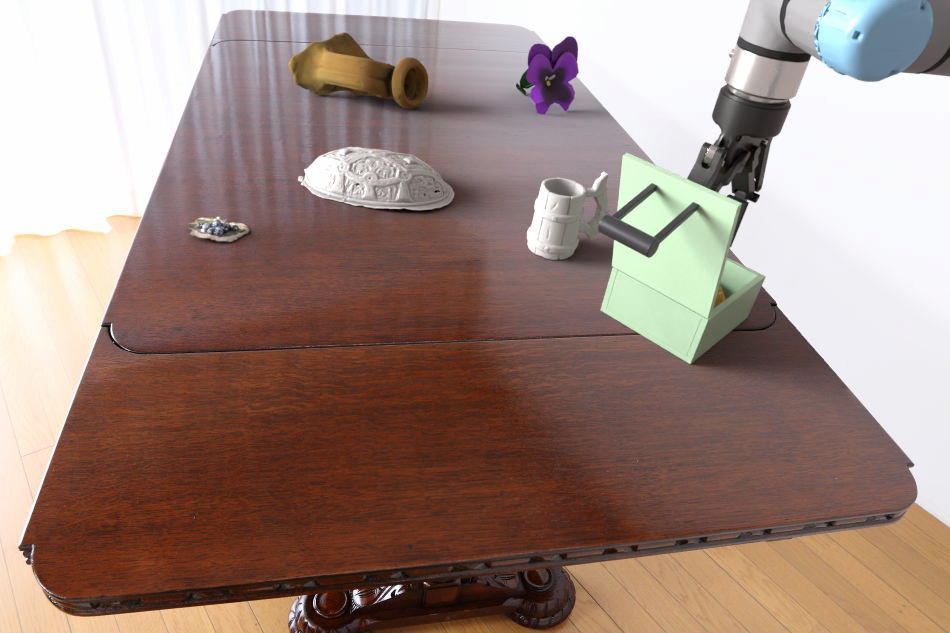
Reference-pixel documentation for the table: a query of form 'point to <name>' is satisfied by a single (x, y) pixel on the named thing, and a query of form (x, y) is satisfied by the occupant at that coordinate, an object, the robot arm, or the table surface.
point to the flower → (551, 74)
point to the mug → (565, 216)
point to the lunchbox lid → (671, 233)
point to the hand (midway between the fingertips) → (695, 259)
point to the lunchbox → (682, 311)
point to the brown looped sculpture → (358, 72)
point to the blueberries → (217, 229)
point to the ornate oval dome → (376, 180)
